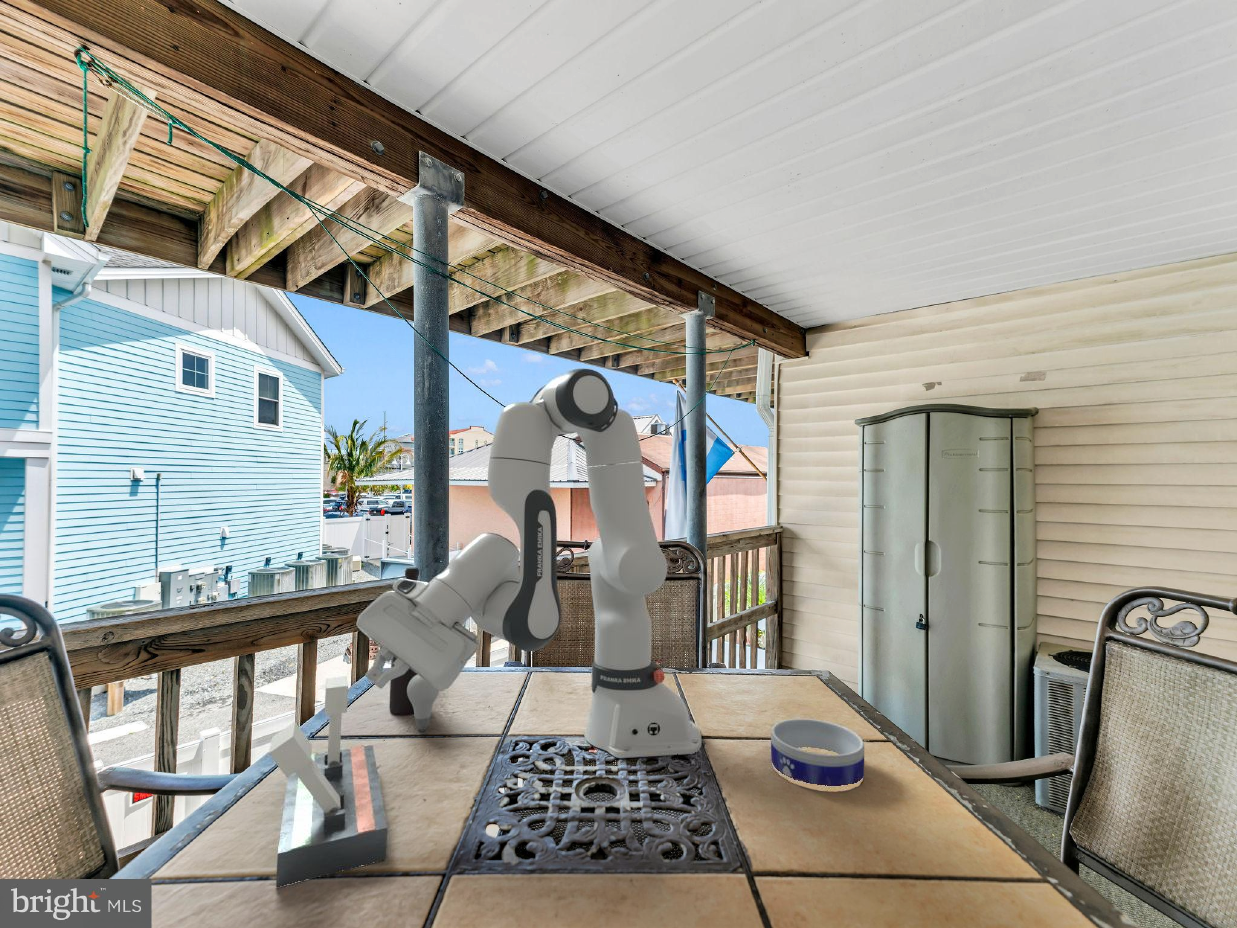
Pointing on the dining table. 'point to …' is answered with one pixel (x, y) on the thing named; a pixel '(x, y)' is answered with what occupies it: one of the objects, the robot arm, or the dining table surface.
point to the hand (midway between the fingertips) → (372, 682)
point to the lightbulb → (421, 700)
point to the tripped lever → (335, 713)
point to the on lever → (303, 766)
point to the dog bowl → (816, 765)
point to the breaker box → (333, 820)
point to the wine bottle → (399, 685)
